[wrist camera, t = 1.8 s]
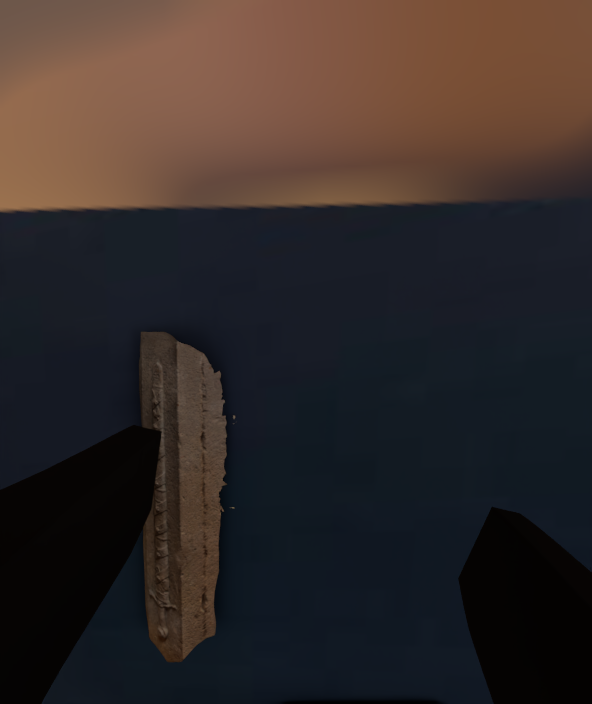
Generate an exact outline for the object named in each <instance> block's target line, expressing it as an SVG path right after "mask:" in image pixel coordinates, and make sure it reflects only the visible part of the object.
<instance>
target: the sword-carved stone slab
mask: <svg viewBox="0 0 592 704" xmlns="http://www.w3.org/2000/svg"><path fill="white" fill-rule="evenodd" d="M220 378H221V373H220V371H218V372H217V373H214V370H213V368H212V367H211V364H209V362H208V359H207V357H206V356H205V355H204V353H201V352H200V351H198V350H196V349H195V348H193V347H191V346H190V345H186V344H183V343H180V342H178V341H177V340H176V339H175V338H174V337H173V336H171V335H170V334H168V333H166V332H141V343H140V360H139V392H140V405H141V421H142V427H145V428H149V429H153V430H158V431H162V434H161V442H160V449H159V457H158V464H157V471H156V479H155V486H154V494H153V501H152V509H151V511H150V513H149V516H148V518H147V520H146V522H145V524H144V527H143V548H144V570H145V601H146V605H145V607H146V613H147V621H148V627H149V638H150V639H151V641H152V642H153V643H154V644H155V645H156V646H157V648H158V649H159V650H160V652H161V653H162V654H163V656H164V657H165V659H166V661H168V662H180V661H181V662H182V661H183V659H184V658H185V657H186V656H187V655H188V654H189V653H190V652H191V650H192V649H193V648H194V647H195V646H196V645H197V644H199V643H200V642H201V641H203V640H204V639H205V638H208V637H211V636H213V635H215V628H216V620H215V613H214V594H215V587H216V581H217V577H218V573H219V548H218V542H219V530H220V518H221V511H220V510H221V509H222V511H223V512H224V510H223V508H222V506H220V503H219V501H220V498H219V491H221V489H222V487H221V486H223V485H227V484H226V483H225V482H223V477H224V475H225V474H226V472H225V470H224V460H225V457H226V456H227V453H226V444H225V442H226V437H227V434H226V429H225V426H226V424H227V422H226V419H225V417H226V416H222V410H223V404H224V403H225V400H221V398H222V397H223V396H222V395H221V394H222V392H223V391H222V385H221V383H220ZM233 419H235V416H234V415H233ZM233 424H235V423H233ZM219 506H220V507H219ZM229 508H234V507H229Z"/></svg>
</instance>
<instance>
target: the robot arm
mask: <svg viewBox="0 0 592 704" xmlns="http://www.w3.org/2000/svg"><path fill="white" fill-rule="evenodd" d="M161 434H162V431H158V430H153V429H149V428H145V427H140V426H136V425H133V426H131V427H128V428H126V429H124V430H122V431H120V432H118V433H116V434H114V435H113V436H111V437H109V438H107V439H105V440H103V441H101V442H99V443H97V444H95V445H93V446H92V447H90V448H88V449H86V450H84V451H82V452H80V453H78V454H76V455H74V456H72V457H70V458H68V459H66V460H64V461H62V462H60V463H58V464H56V465H54V466H52V467H50V468H48V469H46V470H44V471H42V472H39V473H37V474H35V475H33V476H31V477H28V478H26V479H24V480H22V481H20V482H17V483H15V484H13V485H11V486H9V487H6V488H4V489H2V490H0V704H41V703H42V701H43V699H44V697H45V696H46V694H47V692H48V690H49V689H50V687H51V685H52V683H53V681H54V680H55V678H56V676H57V674H58V673H59V671H60V669H61V667H62V666H63V664H64V663H65V661H66V659H67V658H68V656H69V654H70V653H71V651H72V649H73V648H74V646H75V645H76V643H77V641H78V640H79V638H80V636H81V635H82V633H83V632H84V630H85V628H86V627H87V625H88V623H89V622H90V620H91V618H92V617H93V615H94V614H95V612H96V610H97V609H98V607H99V605H100V604H101V602H102V601H103V599H104V597H105V596H106V594H107V592H108V591H109V589H110V587H111V586H112V584H113V582H114V581H115V579H116V577H117V576H118V574H119V573H120V571H121V569H122V568H123V566H124V564H125V563H126V561H127V559H128V558H129V556H130V554H131V552H132V550H133V548H134V546H135V544H136V542H137V539H138V537H139V535H140V533H141V531H142V529H143V527H144V524H145V522H146V520H147V518H148V516H149V513H150V511H151V509H152V501H153V494H154V486H155V479H156V471H157V464H158V457H159V449H160V442H161ZM458 579H459V584H460V590H461V595H462V600H463V605H464V610H465V614H466V618H467V623H468V627H469V631H470V634H471V637H472V640H473V644H474V647H475V650H476V653H477V656H478V659H479V662H480V665H481V668H482V671H483V674H484V677H485V679H486V682H487V685H488V688H489V691H490V694H491V697H492V700H493V703H494V704H592V572H590V571H589V570H588V569H587V568H586V567H585V566H583V565H582V564H581V563H580V562H579V561H578V560H576V559H575V558H574V557H573V556H572V555H571V554H569V553H568V552H567V551H566V550H565V549H564V548H562V547H561V546H560V545H559V544H558V543H557V542H555V541H554V540H553V539H552V538H551V537H549V536H548V535H547V534H546V533H545V532H543V531H542V530H541V529H540V528H538V527H537V526H536V525H535V524H533V523H532V522H531V521H529V520H528V519H527V518H525V517H524V516H523V515H521V514H520V513H516V512H511V511H507V510H503V509H498V508H494V507H492V508H491V510H490V512H489V514H488V517H487V519H486V521H485V523H484V525H483V527H482V529H481V531H480V533H479V536H478V538H477V540H476V542H475V544H474V546H473V548H472V550H471V553H470V555H469V557H468V559H467V561H466V563H465V565H464V567H463V570H462V572H461V574H460V576H459V578H458Z"/></svg>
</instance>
